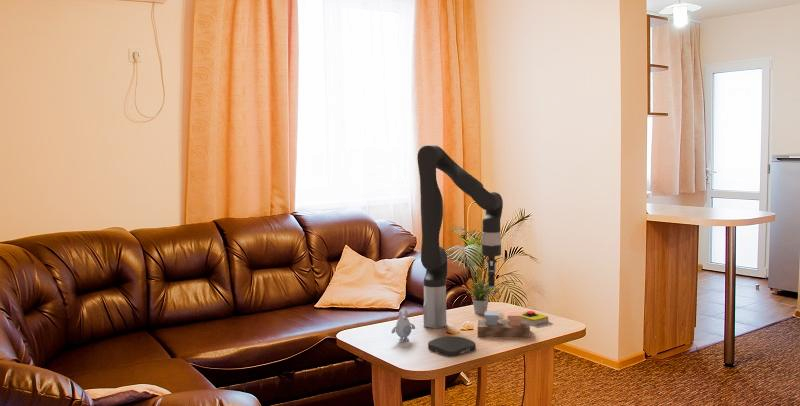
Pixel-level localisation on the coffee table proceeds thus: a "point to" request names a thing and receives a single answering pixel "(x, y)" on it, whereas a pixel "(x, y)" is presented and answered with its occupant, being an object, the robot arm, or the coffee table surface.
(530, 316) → the emergency button
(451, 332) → the coffee table surface
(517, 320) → the terracotta key
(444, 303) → the robot arm
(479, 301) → the house plant
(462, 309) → the coffee table surface
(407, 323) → the toy figure
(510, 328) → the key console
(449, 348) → the media streaming box
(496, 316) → the slate-blue key
